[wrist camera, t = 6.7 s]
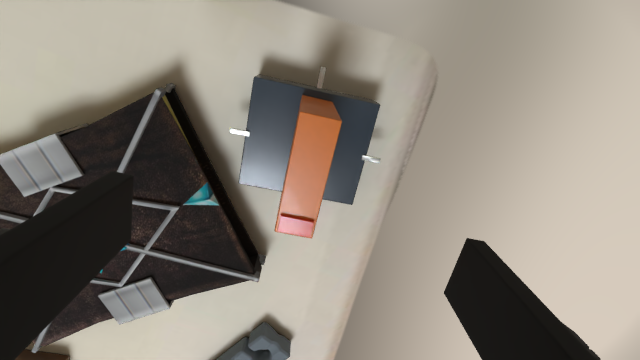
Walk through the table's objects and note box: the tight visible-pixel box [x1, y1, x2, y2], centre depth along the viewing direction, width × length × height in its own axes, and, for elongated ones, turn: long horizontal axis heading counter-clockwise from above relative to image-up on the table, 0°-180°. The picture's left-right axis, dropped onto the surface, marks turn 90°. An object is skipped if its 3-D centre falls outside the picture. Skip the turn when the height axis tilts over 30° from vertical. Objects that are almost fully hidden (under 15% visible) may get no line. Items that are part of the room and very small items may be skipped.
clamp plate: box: [230, 67, 381, 205], centre depth 26 cm, size 11×11×3 cm
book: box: [0, 83, 266, 353], centre depth 26 cm, size 22×17×5 cm
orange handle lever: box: [275, 95, 342, 238], centre depth 21 cm, size 7×2×7 cm, turn 167°
